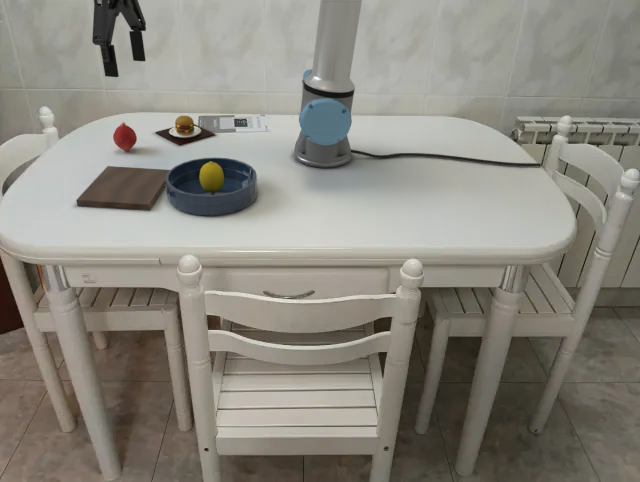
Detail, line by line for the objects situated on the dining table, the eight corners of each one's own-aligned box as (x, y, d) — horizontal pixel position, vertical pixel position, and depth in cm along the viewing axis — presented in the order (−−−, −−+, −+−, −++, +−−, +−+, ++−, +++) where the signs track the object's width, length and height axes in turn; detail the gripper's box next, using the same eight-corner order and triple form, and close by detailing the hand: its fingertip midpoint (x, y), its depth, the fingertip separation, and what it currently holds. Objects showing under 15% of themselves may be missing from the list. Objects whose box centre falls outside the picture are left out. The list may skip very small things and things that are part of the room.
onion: (110, 152, 147) (105, 123, 143) (125, 145, 152) (120, 116, 147) (129, 156, 145) (124, 127, 141) (142, 149, 150) (138, 120, 146)
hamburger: (190, 124, 167) (189, 106, 164) (215, 135, 160) (214, 117, 157) (155, 133, 160) (153, 114, 157) (179, 145, 153) (177, 126, 150)
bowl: (262, 178, 137) (262, 160, 135) (249, 219, 120) (248, 198, 118) (181, 174, 138) (179, 155, 135) (156, 213, 121) (153, 192, 118)
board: (172, 175, 137) (172, 169, 136) (149, 210, 122) (148, 204, 121) (108, 171, 137) (107, 165, 137) (77, 206, 122) (76, 199, 121)
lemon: (220, 200, 126) (218, 168, 122) (197, 197, 127) (194, 165, 123) (228, 189, 131) (226, 158, 126) (206, 186, 132) (203, 155, 127)
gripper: (121, -44, 125) (134, 53, 136) (59, -32, 104) (81, 82, 115) (153, -42, 124) (164, 56, 135) (97, -30, 103) (116, 85, 114)
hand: (126, 68), depth 125 cm, fingers open, 13 cm apart
